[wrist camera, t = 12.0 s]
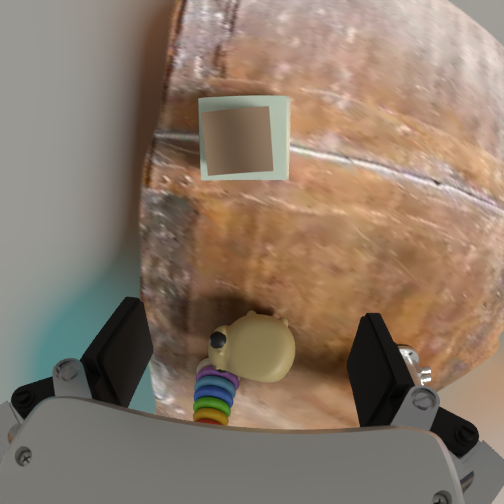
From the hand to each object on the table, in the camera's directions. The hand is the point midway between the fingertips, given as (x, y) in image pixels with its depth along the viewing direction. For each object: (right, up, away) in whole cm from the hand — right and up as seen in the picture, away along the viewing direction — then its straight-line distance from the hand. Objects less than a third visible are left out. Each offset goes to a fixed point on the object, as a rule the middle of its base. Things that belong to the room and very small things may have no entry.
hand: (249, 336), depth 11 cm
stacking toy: (-6, -17, +37) cm, 41 cm away
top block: (-1, +16, +17) cm, 23 cm away
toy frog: (0, -8, +32) cm, 33 cm away
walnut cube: (-1, +14, +13) cm, 19 cm away
